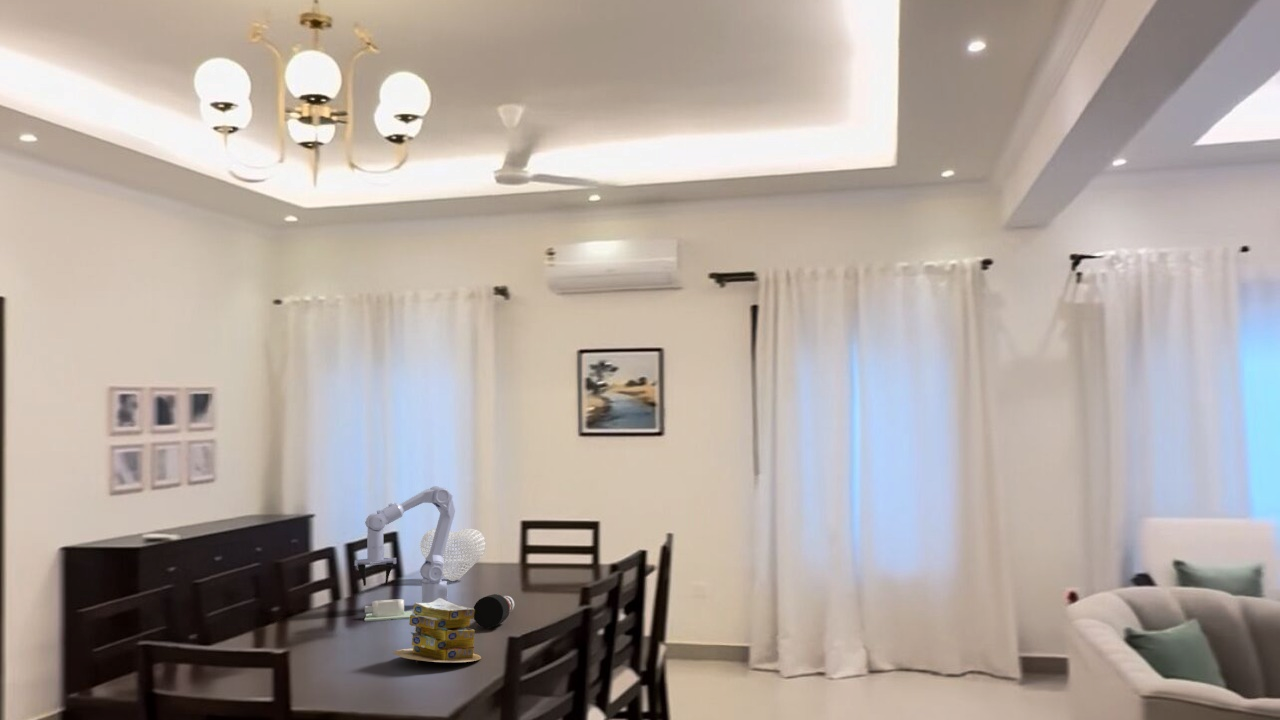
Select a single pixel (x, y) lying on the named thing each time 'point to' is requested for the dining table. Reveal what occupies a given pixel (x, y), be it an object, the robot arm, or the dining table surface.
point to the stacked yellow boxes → (441, 633)
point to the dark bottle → (492, 610)
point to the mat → (388, 617)
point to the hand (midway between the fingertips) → (375, 584)
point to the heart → (457, 551)
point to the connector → (386, 608)
